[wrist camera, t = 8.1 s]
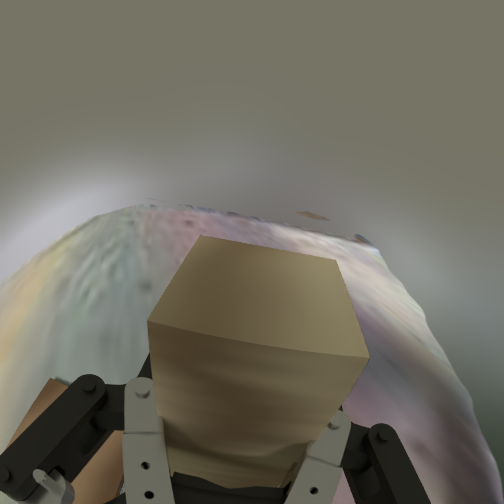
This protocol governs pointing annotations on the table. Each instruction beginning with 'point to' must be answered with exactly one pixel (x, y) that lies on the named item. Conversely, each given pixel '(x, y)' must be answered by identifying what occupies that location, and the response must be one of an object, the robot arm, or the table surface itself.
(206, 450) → the maple block
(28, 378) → the table surface
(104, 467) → the walnut board
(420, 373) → the table surface
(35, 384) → the table surface
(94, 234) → the table surface
